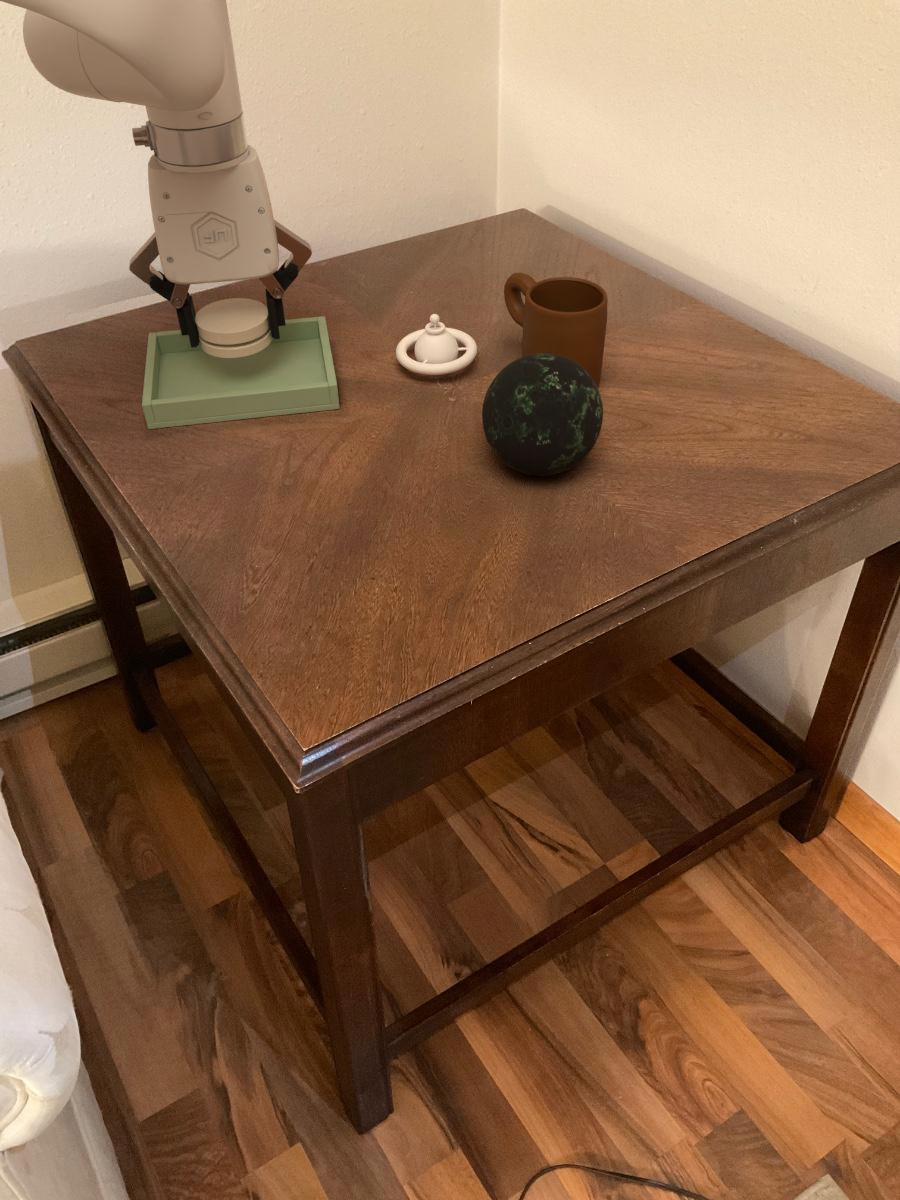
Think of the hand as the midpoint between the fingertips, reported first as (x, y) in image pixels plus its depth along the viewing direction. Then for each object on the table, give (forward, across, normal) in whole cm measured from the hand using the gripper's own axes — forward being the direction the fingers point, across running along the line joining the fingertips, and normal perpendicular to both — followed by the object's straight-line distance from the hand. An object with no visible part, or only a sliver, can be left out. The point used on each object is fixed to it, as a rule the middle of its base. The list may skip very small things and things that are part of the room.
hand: (235, 335), depth 93 cm
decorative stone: (+5, +25, -19) cm, 32 cm away
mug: (+5, +29, -5) cm, 30 cm away
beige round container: (+1, 0, 0) cm, 1 cm away
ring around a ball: (+5, +19, -1) cm, 20 cm away
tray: (+5, 0, 0) cm, 5 cm away
